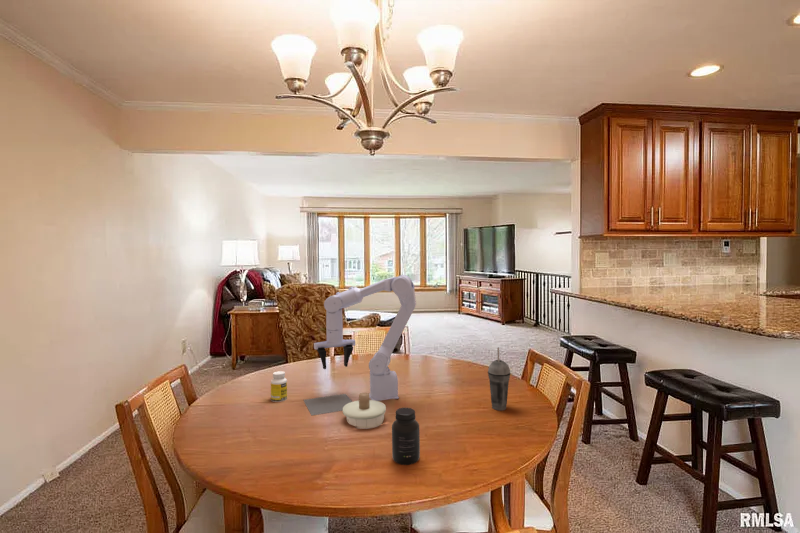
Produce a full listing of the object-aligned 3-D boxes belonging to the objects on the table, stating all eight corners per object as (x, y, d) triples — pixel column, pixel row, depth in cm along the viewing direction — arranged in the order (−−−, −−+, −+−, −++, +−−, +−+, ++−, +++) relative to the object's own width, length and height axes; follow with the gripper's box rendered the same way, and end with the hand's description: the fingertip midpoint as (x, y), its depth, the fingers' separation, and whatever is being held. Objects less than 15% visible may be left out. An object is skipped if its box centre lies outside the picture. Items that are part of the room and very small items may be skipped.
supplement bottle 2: (391, 452, 104) (390, 406, 104) (418, 451, 105) (417, 405, 105) (393, 466, 97) (392, 416, 97) (421, 465, 98) (421, 415, 98)
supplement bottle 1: (282, 403, 139) (282, 375, 139) (268, 403, 140) (267, 374, 140) (290, 398, 145) (289, 370, 144) (275, 397, 146) (275, 370, 145)
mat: (345, 395, 147) (345, 393, 147) (357, 409, 133) (357, 407, 133) (303, 401, 141) (303, 399, 141) (311, 417, 128) (311, 415, 127)
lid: (364, 400, 134) (364, 384, 134) (394, 409, 125) (394, 393, 125) (333, 411, 124) (333, 395, 124) (363, 423, 115) (363, 405, 115)
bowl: (376, 411, 132) (376, 402, 131) (389, 424, 121) (388, 414, 121) (343, 417, 127) (342, 407, 127) (353, 431, 117) (353, 420, 117)
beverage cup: (512, 405, 135) (512, 345, 135) (508, 413, 129) (508, 350, 128) (490, 402, 138) (490, 343, 138) (485, 410, 132) (485, 348, 131)
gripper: (351, 325, 152) (351, 362, 152) (311, 329, 146) (312, 366, 147) (356, 329, 145) (357, 367, 146) (315, 332, 140) (316, 372, 140)
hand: (335, 367), depth 146 cm, fingers open, 7 cm apart
